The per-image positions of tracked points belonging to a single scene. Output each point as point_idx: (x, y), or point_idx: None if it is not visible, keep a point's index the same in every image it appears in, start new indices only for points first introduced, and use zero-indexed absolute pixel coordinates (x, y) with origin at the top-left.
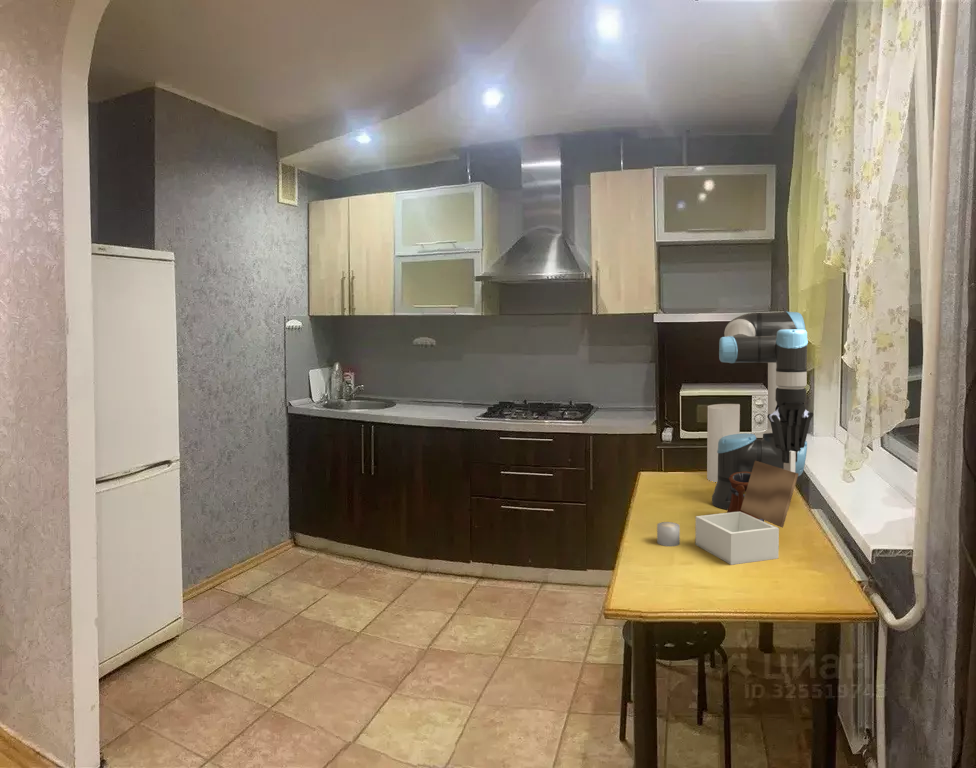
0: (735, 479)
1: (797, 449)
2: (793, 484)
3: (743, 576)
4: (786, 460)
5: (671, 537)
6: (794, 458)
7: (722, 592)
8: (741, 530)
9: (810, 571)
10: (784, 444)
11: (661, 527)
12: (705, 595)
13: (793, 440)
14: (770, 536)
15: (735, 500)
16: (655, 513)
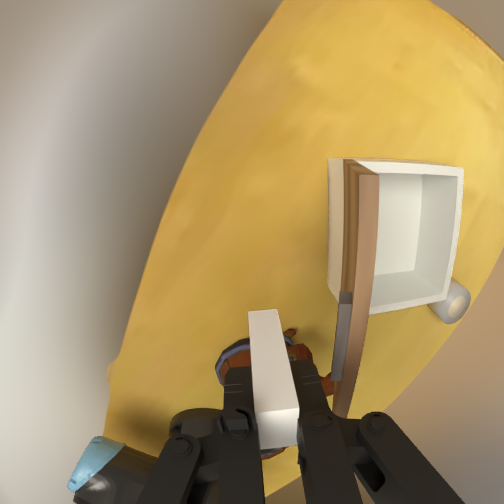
0: None
1: (251, 417)
2: (365, 168)
3: (431, 108)
4: (309, 370)
5: (455, 281)
6: (260, 374)
7: (473, 79)
8: None
9: (309, 75)
10: (373, 445)
11: (470, 297)
12: (489, 85)
13: (263, 493)
14: (369, 160)
15: None
16: (359, 412)
